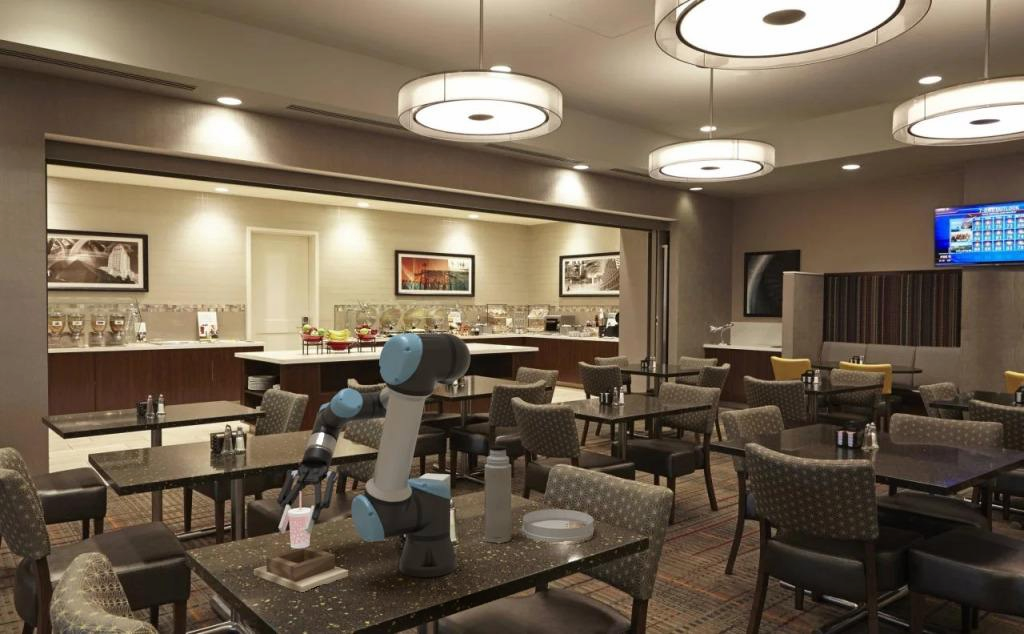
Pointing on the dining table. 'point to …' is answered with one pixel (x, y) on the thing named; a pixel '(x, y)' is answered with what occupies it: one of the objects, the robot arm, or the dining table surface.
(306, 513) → the beverage cup
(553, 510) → the dish
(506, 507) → the thermos bottle
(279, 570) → the collar stand
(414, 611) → the dining table surface
